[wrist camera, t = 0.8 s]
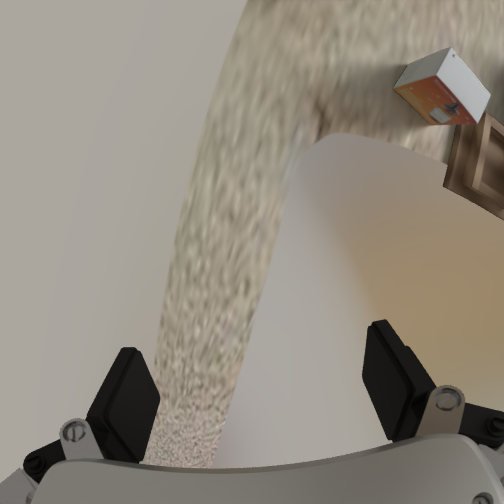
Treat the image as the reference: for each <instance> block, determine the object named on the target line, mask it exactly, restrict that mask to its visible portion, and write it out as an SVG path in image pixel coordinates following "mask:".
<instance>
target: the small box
mask: <svg viewBox="0 0 504 504" xmlns="http://www.w3.org/2000/svg"><path fill="white" fill-rule="evenodd" d="M393 89H394V90H395V91H396V92H397V93H399V94H400V95H401V96H402V97H403V98H404V99H405V100H406V101H407V102H408V103H410V104H411V105H412V106H413V107H414V108H415V109H416V110H417V111H418V112H419V114H420V115H421V116H422V117H423V118H424V119H425V120H426V121H427V122H428V123H429V124H430V125H454V124H478V122H479V120H480V118H481V116H482V114H483V112H484V109H485V107H486V105H487V103H488V100H489V98H490V96H491V95H490V93H489V92H488V90H487V89H486V88H485V87H484V86H483V85H482V83H481V82H480V81H479V79H478V78H477V77H476V76H475V75H474V73H473V72H472V71H471V70H470V69H469V67H468V66H467V65H466V64H465V63H464V61H463V60H462V59H461V58H460V57H459V56H458V55H457V53H456V52H455V51H454V50H453V49H452V48H451V47H449V48H446V49H443V50H441V51H438V52H436V53H433V54H431V55H429V56H426V57H424V58H421V59H419V60H417V61H414V62H412V63H410V64H408V66H407V67H406V69H405V71H404V72H403V74H402V75H401V77H400V78H399V80H398V81H397V83H396V84H395V86H394V87H393Z"/></svg>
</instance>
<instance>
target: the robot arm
mask: <svg viewBox="0 0 504 504" xmlns="http://www.w3.org/2000/svg"><path fill="white" fill-rule="evenodd" d="M362 378H363V382H364V384H365V387H366V389H367V391H368V393H369V396H370V398H371V401H372V403H373V405H374V408H375V410H376V412H377V415H378V417H379V420H380V422H381V425H382V427H383V429H384V432H385V435H386V437H387V439H388V440H392V442H393V443H390V444H387V445H383V446H380V447H376V448H372V449H368V450H364V451H360V452H355V453H351V454H346V455H342V456H337V457H332V458H326V459H321V460H315V461H309V462H302V463H294V464H287V465H277V466H266V467H252V468H226V469H207V468H179V467H166V466H155V465H145V464H139V462H140V461H142V460H143V459H144V455H145V452H146V448H147V444H148V441H149V437H150V434H151V430H152V427H153V423H154V420H155V416H156V413H157V409H158V406H159V403H160V394H159V392H158V390H157V388H156V386H155V383H154V381H153V379H152V377H151V375H150V372H149V370H148V367H147V365H146V363H145V360H144V358H143V356H142V354H141V352H140V351H138V350H137V349H136V348H135V347H123V348H122V349H121V350H120V352H119V354H118V356H117V357H116V359H115V361H114V363H113V365H112V367H111V368H110V371H109V372H108V374H107V376H106V378H105V380H104V382H103V384H102V386H101V387H100V390H99V392H98V393H97V395H96V398H95V399H94V401H93V403H92V405H91V407H90V409H89V411H88V413H87V417H86V419H85V420H84V419H80V418H75V419H72V420H69V421H68V422H66V423H65V424H64V425H63V426H62V428H61V429H60V433H59V435H60V439H59V440H57V441H55V442H52V443H50V444H48V445H46V446H44V447H42V448H40V449H37V450H35V451H33V452H31V453H29V454H28V455H27V456H26V458H25V460H24V463H23V467H24V469H23V470H21V469H20V468H19V469H17V470H16V471H15V472H14V473H13V474H11V475H10V476H9V477H8V478H7V479H5V480H4V481H3V482H1V483H0V504H504V412H502V411H498V410H493V409H489V408H485V407H481V406H476V405H473V404H469V403H465V397H464V394H463V393H462V391H461V390H460V389H458V388H456V387H454V386H451V385H443V386H439V387H436V385H435V384H434V382H433V381H432V379H431V378H430V376H429V375H428V373H427V372H426V370H425V369H424V367H423V366H422V364H421V363H420V361H419V360H418V359H417V357H416V355H415V354H414V352H413V351H412V350H411V348H410V347H409V346H405V345H404V344H403V342H402V341H401V339H400V338H399V336H398V335H397V334H396V332H395V331H394V329H393V328H392V327H391V325H390V324H389V322H388V321H387V320H386V319H384V320H379V321H375V322H372V325H371V326H369V327H368V330H367V339H366V348H365V356H364V365H363V371H362Z"/></svg>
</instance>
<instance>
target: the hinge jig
mask: <svg viewBox="0 0 504 504" xmlns="http://www.w3.org/2000/svg"><path fill="white" fill-rule="evenodd" d="M443 187H445V188H447V189H449V190H451V191H453V192H454V193H456V194H458V195H460V196H462V197H464V198H466V199H468V200H469V201H471V202H473V203H475V204H477V205H478V206H480V207H482V208H484V209H485V210H487V211H489V212H490V213H492V214H494V215H495V216H497V217H499V218H500V219H502V220H504V126H503V125H502V124H501V123H499V122H498V121H497V120H496V119H495V118H493V117H492V116H491V115H490V114H488V113H487V112H486V111H485V110H484V112H483V114H482V116H481V118H480V120H479V122H478V124H456V130H455V135H454V140H453V145H452V150H451V154H450V159H449V163H448V167H447V171H446V175H445V179H444V183H443Z"/></svg>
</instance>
